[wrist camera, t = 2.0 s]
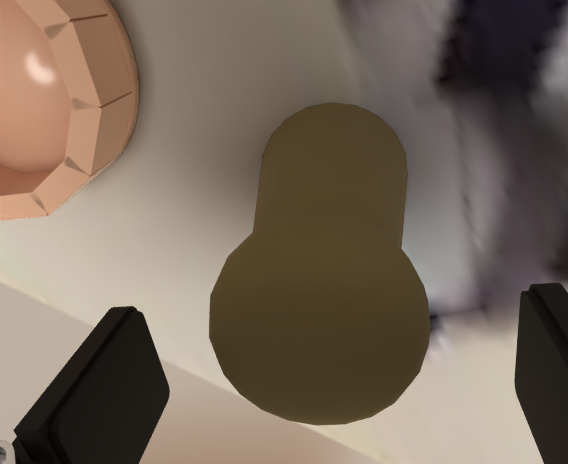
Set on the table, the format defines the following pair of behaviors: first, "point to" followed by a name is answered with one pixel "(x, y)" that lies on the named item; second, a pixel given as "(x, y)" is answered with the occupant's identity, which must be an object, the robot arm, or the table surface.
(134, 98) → the copper faceted bowl
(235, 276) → the cork
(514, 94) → the table surface
